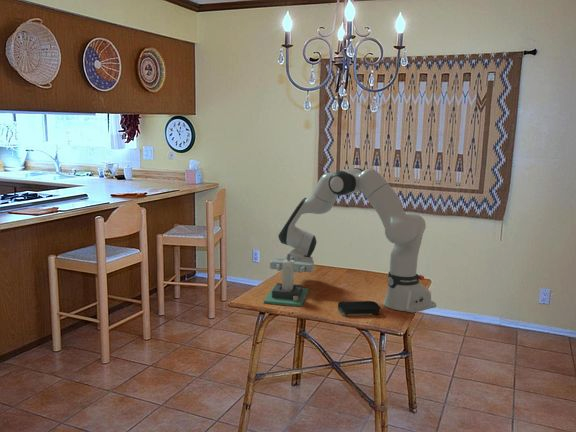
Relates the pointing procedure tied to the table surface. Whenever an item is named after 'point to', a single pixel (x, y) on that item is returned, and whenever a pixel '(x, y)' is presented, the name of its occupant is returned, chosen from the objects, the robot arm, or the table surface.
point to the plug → (288, 274)
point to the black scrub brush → (358, 308)
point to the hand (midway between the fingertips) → (289, 269)
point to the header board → (287, 296)
